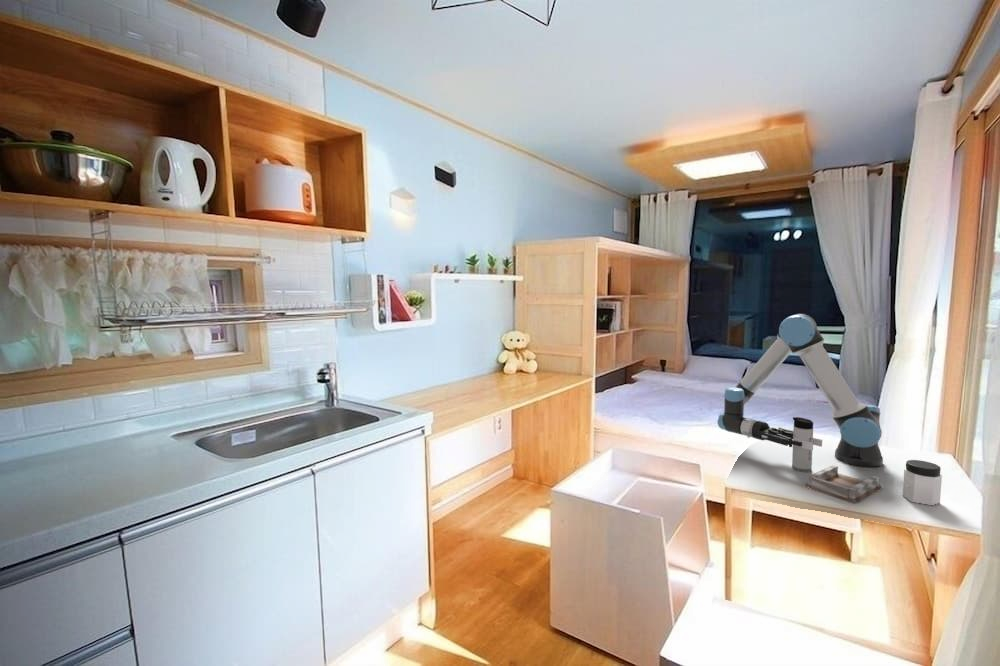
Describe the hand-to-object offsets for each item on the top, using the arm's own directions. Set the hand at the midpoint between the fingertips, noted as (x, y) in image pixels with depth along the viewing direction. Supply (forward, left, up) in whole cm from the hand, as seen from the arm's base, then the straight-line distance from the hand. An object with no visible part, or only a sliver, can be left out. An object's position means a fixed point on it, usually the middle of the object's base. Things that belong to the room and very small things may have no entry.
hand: (817, 444), depth 167 cm
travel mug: (+3, -4, -11) cm, 12 cm away
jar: (-18, +23, -11) cm, 31 cm away
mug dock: (0, +13, -11) cm, 17 cm away
